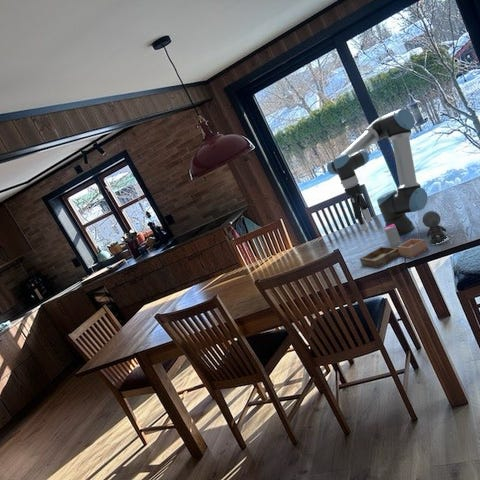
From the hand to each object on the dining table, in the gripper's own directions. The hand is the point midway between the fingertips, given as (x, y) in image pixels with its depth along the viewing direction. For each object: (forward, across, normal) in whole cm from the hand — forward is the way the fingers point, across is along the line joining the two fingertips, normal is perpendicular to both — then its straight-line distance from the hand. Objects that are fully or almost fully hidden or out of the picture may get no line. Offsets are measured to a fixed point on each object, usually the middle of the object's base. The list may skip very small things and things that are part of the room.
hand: (367, 225), depth 215 cm
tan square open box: (+19, +2, +16) cm, 25 cm away
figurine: (+19, -5, +28) cm, 34 cm away
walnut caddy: (+19, 0, 0) cm, 19 cm away
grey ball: (+18, +2, +16) cm, 24 cm away
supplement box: (+19, -13, +6) cm, 24 cm away
